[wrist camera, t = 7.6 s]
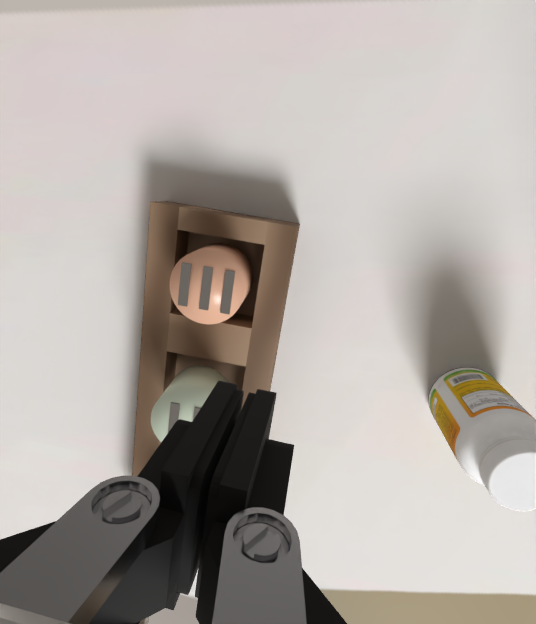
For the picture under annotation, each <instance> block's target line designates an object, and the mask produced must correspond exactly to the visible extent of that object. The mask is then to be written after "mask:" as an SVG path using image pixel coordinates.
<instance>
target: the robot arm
mask: <svg viewBox="0 0 536 624" xmlns="http://www.w3.org/2000/svg"><path fill="white" fill-rule="evenodd" d="M243 396H244V391H241V390H238V385H237V384H233V383H228V382H223V381H218V382H217V383H216V385H215V387H214V388H213V390H212V391H211V393H210V395H209V396H208V398H207V399H206V401H205V402H204V404H203V406H202V407H201V409H200V410H199V412H198V414H197V415H196V417H195V418H194V420H193V421H192V422H190V421H186V420H181V419H179V420H177V421H176V422H175V424H174V425H173V427H172V428H171V429H170V431H169V432H168V434H167V435H166V437H165V438H164V439H163V441H162V442H161V444H160V445H159V446H158V448H157V449H156V451H155V452H154V454H153V455H152V456H151V458H150V459H149V461H148V462H147V463H146V465H145V466H144V468H143V469H142V471H141V472H140V473H139V475H138V476H119V477H114V478H110V479H108V480H106V481H103V482H101V483H100V484H98V485H97V486H95V487H94V488H93V489H91V490H90V491H89V492H88V493H87V494H86V495H85V496H84V497H83V498H82V499H80V500H79V501H78V502H77V503H76V504H75V505H74V506H73V507H72V508H71V509H69V510H68V511H67V512H66V513H65V514H64V515H63V516H62V517H61V518H60V519H59V520H57V521H55V522H52V523H49V524H46V525H43V526H40V527H37V528H34V529H31V530H28V531H25V532H22V533H19V534H16V535H13V536H10V537H7V538H4V539H1V540H0V624H148V622H149V616H151V615H153V614H154V613H156V612H158V611H160V610H162V609H164V608H168V609H171V610H174V607H175V605H176V602H177V600H178V597H179V595H180V593H183V594H186V595H188V594H189V592H190V589H191V587H192V584H193V581H194V578H195V576H196V573H197V570H198V576H197V584H196V591H195V597H197V598H198V604H197V610H196V618H197V620H198V622H199V624H347V623H346V622H345V621H344V619H343V618H342V617H341V616H340V614H339V613H338V612H337V611H336V609H335V608H334V607H333V606H332V604H331V603H330V602H329V601H328V599H327V598H326V597H325V596H324V595H323V593H322V592H321V591H320V589H319V588H318V587H317V586H316V584H315V583H314V582H313V581H312V580H311V578H310V577H309V576H308V575H307V573H306V572H305V571H304V570H303V568H302V563H301V551H300V540H299V537H298V533H297V530H296V529H295V527H294V526H293V524H292V523H291V522H290V521H289V520H288V519H287V518H286V517H285V516H284V508H285V502H286V495H287V488H288V482H289V475H290V469H291V462H292V456H293V449H294V445H292V444H287V443H283V442H278V441H274V440H270V439H269V433H270V427H271V422H272V416H273V411H274V405H275V399H276V393H275V392H270V391H265V390H261V389H257V391H256V394H255V393H250V392H249V394H248V396H247V398H246V400H245V403H244V405H243V407H242V402H243ZM241 409H242V410H241ZM198 567H199V569H198Z"/></svg>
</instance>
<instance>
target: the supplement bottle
mask: <svg viewBox="0 0 536 624" xmlns="http://www.w3.org/2000/svg"><path fill="white" fill-rule="evenodd" d="M429 407H430V410H431V413H432V415H433V417H434V419H435V420H436V422H437V424H438V426H439V428H440V429H441V431H442V433H443V435H444V437H445V439H446V440H447V442H448V444H449V446H450V448H451V450H452V451H453V453H454V455H455V457H456V459H457V461H458V462H459V464H460V466H461V467H462V469H463V470H464V471H465V473H466V474H467V475H468V476H469V477H470V478H472V479H473V480H474V481H476V482H478V483H480V484H482V485H484V486H485V487H486V488H487V490H488V491H489V493H490V495H491V496H492V498H493V499H494V500H495V501H496V502H497V503H499V504H500V505H502V506H503V507H505V508H508V509H511V510H515V511H532V510H536V420H535V419H534V418H533V417H532V416H531V415H530V414H529V413H528V412H527V411H526V410H525V409H524V408H523V407H522V406H521V405H520V404H519V403H518V402H517V401H516V400H515V399H514V398H513V397H512V396H511V395H510V394H509V393H508V392H507V391H506V390H505V389H504V388H503V387H502V386H501V385H500V384H499V383H498V382H497V381H496V380H495V379H494V378H493V377H492V376H491V375H489V374H488V373H486V372H484V371H482V370H479V369H475V368H458V369H455V370H452V371H449V372H447V373H445V374H444V375H442V376H441V377H440V378H439V379H438V380H437V381H436V382H435V384H434V385H433V387H432V389H431V391H430V395H429Z"/></svg>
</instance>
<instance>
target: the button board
mask: <svg viewBox="0 0 536 624" xmlns="http://www.w3.org/2000/svg"><path fill="white" fill-rule="evenodd" d="M299 226H300V224H297V223H291V222H285V221H279V220H273V219H268V218H262V217H256V216H250V215H244V214H238V213H232V212H226V211H221V210H215V209H209V208H203V207H197V206H191V205H185V204H179V203H174V202H168V201H161V202H150V216H149V231H148V246H147V261H146V276H145V291H144V307H143V322H142V337H141V352H140V367H139V382H138V397H137V413H136V428H135V443H134V458H133V473H132V476H138V475H139V473H140V472H141V471H142V469H143V468H144V466H145V465H146V463H147V462H148V461H149V459H150V458H151V456H152V455H153V454H154V452H155V451H156V449H157V448H158V446H159V445H160V444H161V442H160V441H159V439H158V438H157V437H156V435H155V433H154V431H153V429H152V426H151V412H152V409H153V407H154V405H155V403H156V402H157V401H158V399H159V398H160V397H161V395H162V394H163V393H164V391H165V390H166V389H167V387H168V386H169V385H170V383H171V382H172V381H173V379H174V378H175V377H176V376H177V374H178V373H179V372H181V371H182V370H184V369H185V368H188V367H191V366H207V367H210V368H213V369H215V370H217V371H218V372H220V373H221V374H222V375H223V376H224V377H225V378H226V379H227V381H228V382H229V383H233V384H237V385H238V390H241V391H244V396H243V402H242V407H243V405H244V403H245V400H246V398H247V396H248V394H249V392H250V393H255V394H256V391H257V389H261V390H265V391H270V388H271V383H272V377H273V371H274V366H275V360H276V355H277V349H278V343H279V338H280V332H281V327H282V321H283V315H284V310H285V304H286V298H287V293H288V287H289V282H290V276H291V270H292V265H293V259H294V254H295V248H296V242H297V237H298V231H299ZM213 243H225V244H229V245H232V246H234V247H236V248H237V249H239V250H240V251H241V252H242V253H243V254H244V255H245V256H246V257H247V259H248V260H249V262H250V265H251V268H252V272H253V283H252V287H251V289H250V291H249V293H248V295H247V296H246V298H245V299H244V301H243V302H242V304H241V306H240V307H239V309H238V310H237V311H236V313H235V314H234V315H233V316H231V317H230V318H229V319H227V320H225V321H223V322H221V323H217V324H201V323H197V322H195V321H192V320H191V319H189V318H187V317H186V316H185V315H183V314H182V313H181V312H180V311H179V309H178V308H177V307H176V305H175V304H174V302H173V299H172V297H171V293H170V277H171V273H172V271H173V268H174V267H175V265H176V264H177V263H178V261H179V260H180V259H182V258H183V257H184V256H186V255H187V254H190V253H192V252H194V251H196V250H198V249H200V248H202V247H204V246H207V245H209V244H213ZM241 410H242V409H241Z"/></svg>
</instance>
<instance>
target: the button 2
mask: <svg viewBox="0 0 536 624" xmlns="http://www.w3.org/2000/svg"><path fill="white" fill-rule="evenodd" d="M218 381H223V382H228V381H227V379H226V378H225V377H224V376H223V375H222V374H221V373H220V372H218V371H217V370H215V369H213V368H210V367H207V366H191V367H188V368H185V369H184V370H182V371H181V372H179V373H178V374H177V376H176V377H175V378H174V379H173V381H172V382H171V383H170V385H169V386H168V387H167V389H166V390H165V391H164V393H163V394H162V395H161V397H160V398H159V399H158V401H157V402H156V403H155V405H154V407H153V409H152V412H151V426H152V429H153V431H154V433H155V435H156V437H157V438H158V439H159V441H160V442H162V441H163V439H164V438H165V437H166V435H167V434H168V432H169V431H170V429H171V428H172V427H173V425H174V424H175V422H176V421H177V420H179V419H181V420H186V421H190V422H192V421H193V420H194V418H195V417H196V415H197V414H198V412H199V410H200V409H201V407H202V406H203V404H204V402H205V401H206V399H207V398H208V396H209V395H210V393H211V391H212V390H213V388H214V387H215V385H216V383H217V382H218ZM228 383H229V382H228Z"/></svg>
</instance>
